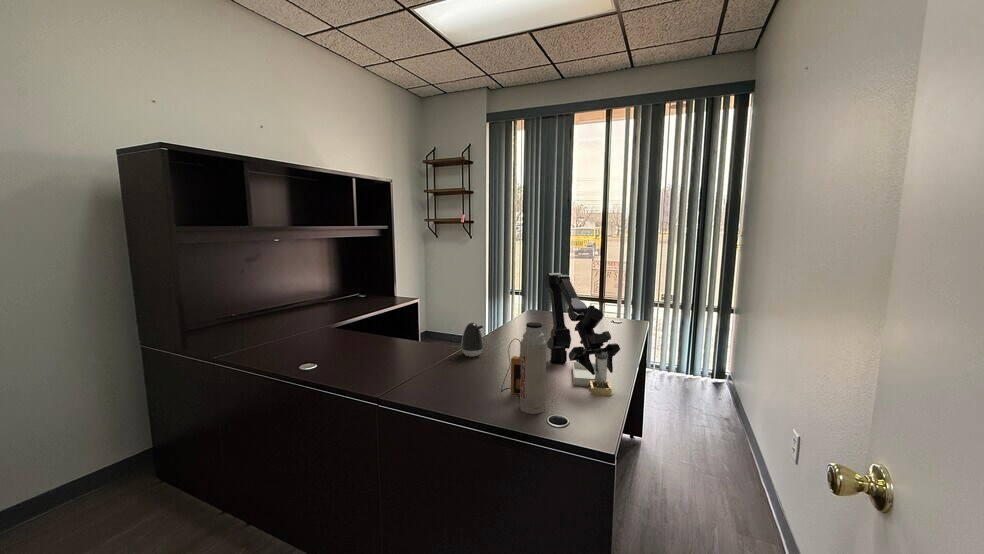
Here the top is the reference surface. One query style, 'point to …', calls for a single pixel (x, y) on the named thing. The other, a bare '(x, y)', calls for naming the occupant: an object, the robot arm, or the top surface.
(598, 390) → the socket collar
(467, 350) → the pump dispenser
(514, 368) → the multimeter
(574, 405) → the top surface
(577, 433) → the top surface
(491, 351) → the top surface
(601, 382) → the strut
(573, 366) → the tray
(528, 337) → the thermos bottle
